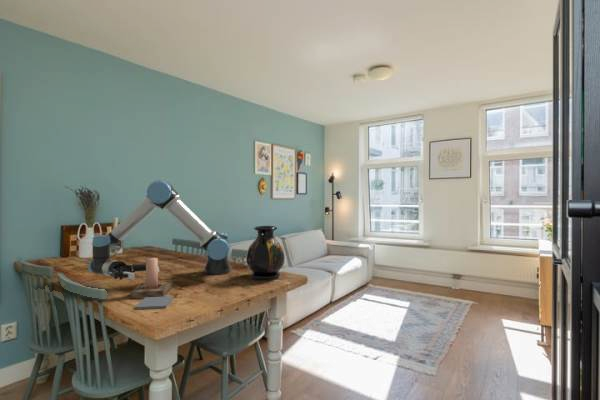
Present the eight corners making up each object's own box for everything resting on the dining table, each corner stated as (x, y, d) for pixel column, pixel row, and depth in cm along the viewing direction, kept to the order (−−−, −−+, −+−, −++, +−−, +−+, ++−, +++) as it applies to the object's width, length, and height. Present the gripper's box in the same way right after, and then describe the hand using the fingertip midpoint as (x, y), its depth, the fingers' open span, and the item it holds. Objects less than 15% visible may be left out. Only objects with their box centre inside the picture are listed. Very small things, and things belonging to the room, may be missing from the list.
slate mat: (173, 298, 140) (173, 296, 140) (166, 308, 128) (166, 305, 128) (145, 299, 138) (145, 297, 138) (134, 309, 127) (134, 307, 127)
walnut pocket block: (171, 288, 155) (171, 282, 155) (163, 297, 141) (163, 290, 141) (141, 289, 153) (141, 283, 153) (130, 298, 140) (130, 291, 139)
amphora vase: (279, 283, 165) (279, 229, 164) (240, 281, 168) (240, 228, 168) (288, 273, 186) (288, 225, 185) (253, 271, 190) (253, 224, 189)
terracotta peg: (159, 291, 150) (159, 257, 150) (156, 294, 145) (155, 259, 145) (148, 291, 150) (148, 257, 149) (144, 295, 145) (144, 260, 144)
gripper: (136, 270, 168) (167, 274, 159) (89, 282, 145) (122, 288, 136) (136, 256, 167) (167, 259, 159) (89, 266, 144) (122, 270, 136)
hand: (146, 272), depth 148 cm, fingers open, 13 cm apart
